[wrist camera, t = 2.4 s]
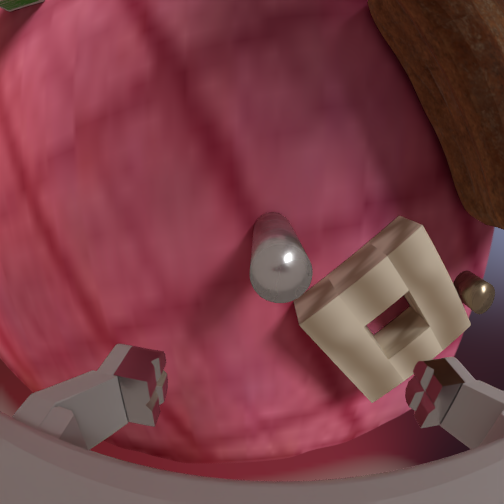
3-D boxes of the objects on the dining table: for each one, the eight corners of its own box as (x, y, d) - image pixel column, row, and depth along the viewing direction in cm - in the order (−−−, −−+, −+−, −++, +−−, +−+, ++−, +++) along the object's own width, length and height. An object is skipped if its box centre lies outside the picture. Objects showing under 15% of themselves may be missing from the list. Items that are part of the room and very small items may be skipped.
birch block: (399, 215, 28) (422, 225, 23) (449, 306, 31) (470, 324, 26) (293, 301, 31) (299, 325, 26) (360, 376, 34) (372, 402, 29)
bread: (429, -16, 20) (478, -59, 8) (522, 185, 26) (589, 200, 15) (342, 0, 22) (378, -64, 10) (456, 231, 29) (529, 264, 17)
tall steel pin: (275, 204, 28) (285, 230, 17) (299, 233, 29) (324, 277, 17) (245, 228, 29) (236, 271, 17) (270, 256, 30) (276, 314, 18)
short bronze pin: (468, 264, 29) (490, 277, 25) (477, 285, 30) (497, 299, 26) (448, 284, 30) (469, 299, 26) (458, 303, 31) (477, 319, 27)
